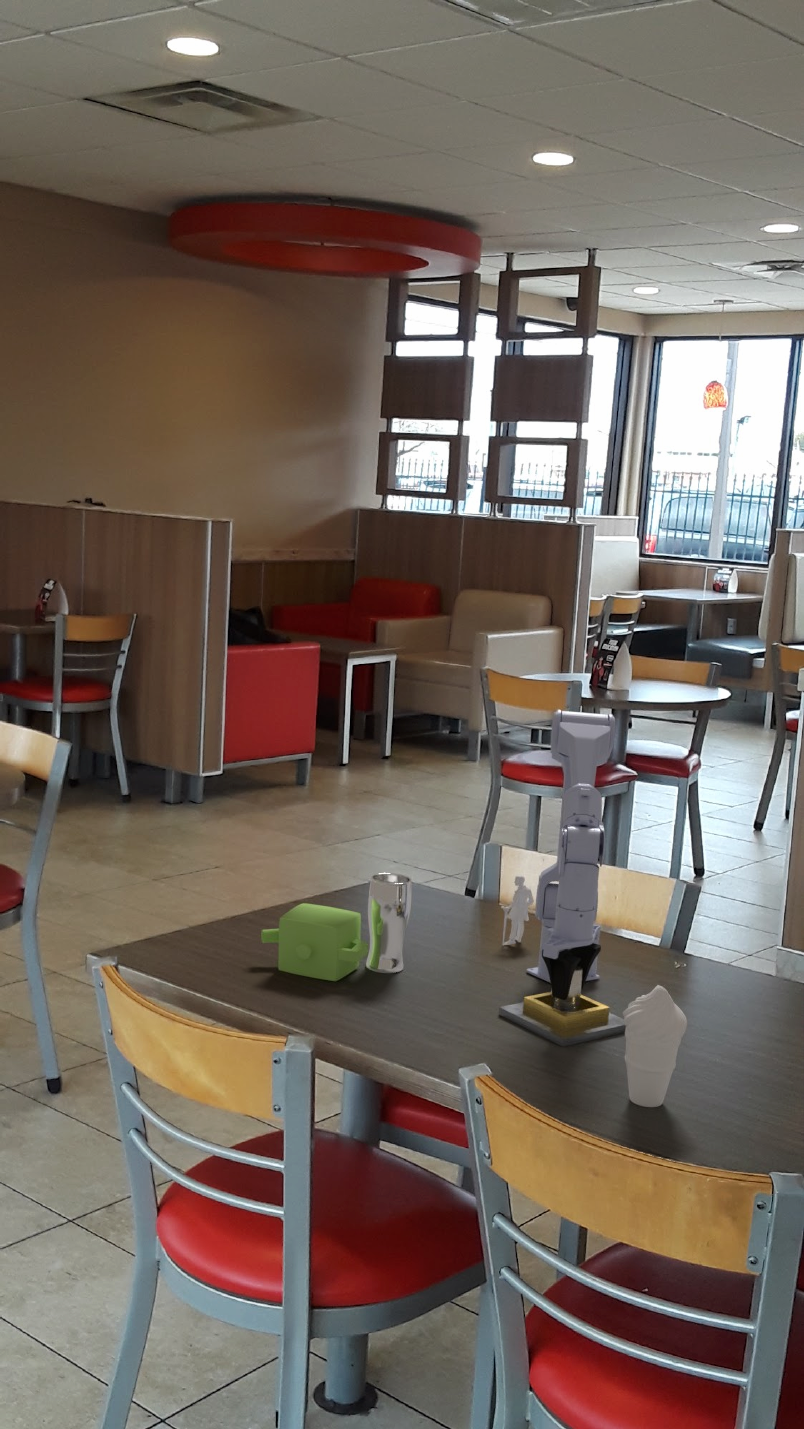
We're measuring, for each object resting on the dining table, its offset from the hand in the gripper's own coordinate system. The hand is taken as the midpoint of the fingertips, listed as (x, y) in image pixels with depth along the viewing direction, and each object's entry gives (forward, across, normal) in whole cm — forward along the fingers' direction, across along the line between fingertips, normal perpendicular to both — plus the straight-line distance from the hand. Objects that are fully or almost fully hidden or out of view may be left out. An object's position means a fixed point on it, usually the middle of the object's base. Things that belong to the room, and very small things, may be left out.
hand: (567, 994), depth 212 cm
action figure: (+5, -29, -25) cm, 38 cm away
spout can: (+2, 0, 0) cm, 2 cm away
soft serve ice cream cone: (+5, +18, +21) cm, 28 cm away
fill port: (+4, 0, 0) cm, 4 cm away
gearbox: (+5, +9, -41) cm, 42 cm away
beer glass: (+5, -1, -34) cm, 34 cm away
